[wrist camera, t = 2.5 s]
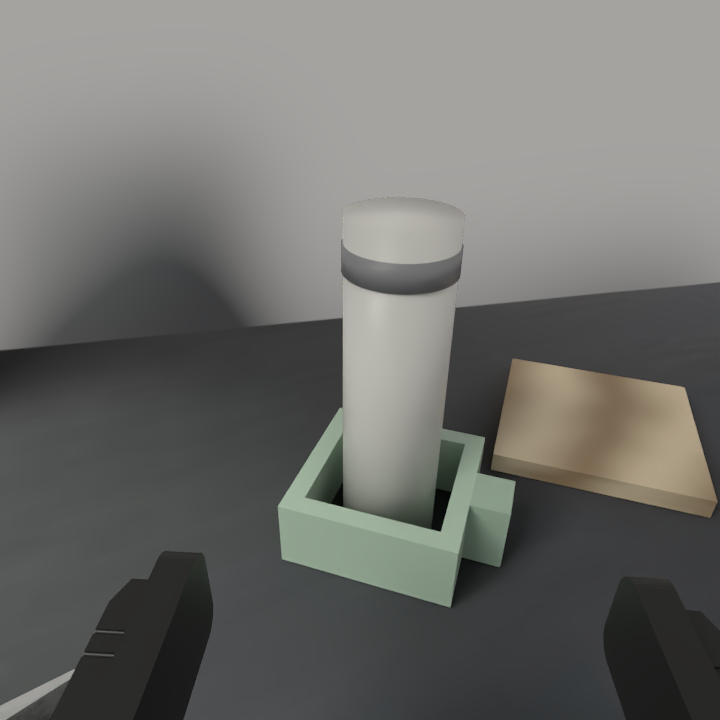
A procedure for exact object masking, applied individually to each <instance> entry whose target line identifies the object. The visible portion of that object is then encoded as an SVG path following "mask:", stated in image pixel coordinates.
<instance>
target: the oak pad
mask: <svg viewBox="0 0 720 720" xmlns="http://www.w3.org/2000/svg"><path fill="white" fill-rule="evenodd" d="M491 470H495V471H499V472H504V473H508V474H513V475H517V476H522V477H527V478H531V479H536V480H540V481H545V482H549V483H554V484H558V485H563V486H567V487H572V488H577V489H581V490H586V491H590V492H595V493H599V494H604V495H608V496H613V497H617V498H622V499H627V500H631V501H636V502H640V503H645V504H649V505H654V506H658V507H663V508H667V509H672V510H677V511H681V512H686V513H690V514H695V515H699V516H704V517H708V518H711V516H712V513H713V511H714V509H715V507H716V504H717V502H718V501H717V498H716V495H715V491H714V488H713V484H712V481H711V477H710V474H709V470H708V467H707V463H706V460H705V456H704V453H703V450H702V446H701V443H700V439H699V436H698V432H697V429H696V425H695V422H694V418H693V415H692V411H691V408H690V404H689V401H688V398H687V394H686V391H685V387H680V386H674V385H668V384H662V383H656V382H650V381H644V380H638V379H632V378H626V377H620V376H614V375H608V374H602V373H596V372H590V371H584V370H578V369H572V368H566V367H560V366H554V365H548V364H543V363H537V362H531V361H525V360H519V359H512V364H511V369H510V374H509V379H508V384H507V389H506V394H505V399H504V404H503V409H502V414H501V419H500V423H499V428H498V433H497V438H496V443H495V448H494V453H493V459H492V464H491Z"/></svg>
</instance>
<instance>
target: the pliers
mask: <svg viewBox="0 0 720 720" xmlns="http://www.w3.org/2000/svg"><path fill="white" fill-rule="evenodd" d="M74 670H75V669H74ZM74 670H72V671H70V672H68V673H66V674H64V675H62V676H60V677H57V678H55V679H53V680H51V681H49V682H47V683H45V684H43V685H41V686H39V687H37V688H35V689H33V690H31V691H29V692H27V693H25V694H23V695H21V696H19V697H17V698H15V699H13V700H11V701H9V702H7V703H5V704H3V705H1V706H0V720H49V719H50V718H51V716H52V714H53V712H54V710H55V708H56V706H57V704H58V702H59V700H60V698H61V696H62V694H63V692H64V690H65V688H66V686H67V684H68V682H69V680H70V678H71V676H72V674H73V672H74Z"/></svg>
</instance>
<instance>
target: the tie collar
mask: <svg viewBox="0 0 720 720" xmlns="http://www.w3.org/2000/svg"><path fill="white" fill-rule="evenodd" d="M484 442H485V437H481V436H476V435H471V434H466V433H461V432H456V431H451V430H447V429H442V435H441V444H440V453H439V462H438V471H437V481H436V488H437V489H441V490H445V491H449V492H452V493H451V497H450V500H449V504H448V508H447V511H446V515H445V519H444V522H443V526H442V530H441V532H439V531H435V530H431V529H427V528H423V527H419V526H415V525H411V524H407V523H403V522H399V521H395V520H391V519H387V518H384V517H380V516H376V515H372V514H368V513H364V512H360V511H356V510H352V509H348V508H344V507H340V506H336V505H332V504H331V503H332V501H333V499H334V497H335V495H336V493H337V492H338V490H339V488H340V486H341V484H342V482H343V408H340V409H339V410H338V412H337V413H336V415H335V416H334V418H333V420H332V421H331V423H330V424H329V426H328V428H327V429H326V431H325V432H324V434H323V436H322V437H321V439H320V440H319V442H318V443H317V445H316V447H315V448H314V450H313V451H312V453H311V455H310V456H309V458H308V459H307V461H306V463H305V464H304V466H303V467H302V469H301V471H300V472H299V474H298V475H297V477H296V478H295V480H294V482H293V483H292V485H291V486H290V488H289V490H288V491H287V493H286V494H285V496H284V498H283V499H282V501H281V502H280V504H279V505H278V514H279V527H280V540H281V553H282V559H283V560H287V561H290V562H294V563H297V564H301V565H304V566H308V567H311V568H315V569H318V570H322V571H325V572H328V573H332V574H335V575H339V576H342V577H346V578H349V579H353V580H356V581H360V582H363V583H367V584H370V585H374V586H377V587H381V588H384V589H387V590H391V591H394V592H398V593H401V594H405V595H408V596H412V597H415V598H419V599H422V600H426V601H429V602H433V603H436V604H440V605H443V606H447V607H451V603H452V598H453V594H454V589H455V585H456V580H457V576H458V571H459V567H460V563H461V558H466V559H470V560H473V561H477V562H481V563H485V564H489V565H492V566H496V567H500V566H501V561H502V556H503V551H504V546H505V541H506V536H507V531H508V526H509V522H510V517H511V510H512V503H513V496H514V489H515V482H516V481H512V480H507V479H503V478H498V477H494V476H489V475H485V474H480V467H481V461H482V455H483V448H484Z"/></svg>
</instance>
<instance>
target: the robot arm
mask: <svg viewBox="0 0 720 720" xmlns="http://www.w3.org/2000/svg"><path fill="white" fill-rule="evenodd" d="M212 619H213V601H212V595H211V590H210V584H209V579H208V573H207V568H206V562H205V557H204V555H203V554H202V553H191V552H171V551H164V552H162V553H161V555H160V556H159V558H158V560H157V562H156V564H155V566H154V568H153V570H152V573H151V575H150V577H149V579H148V580H145V579H131V580H130V581H129V582H128V583H127V584H126V585H125V586H124V587H123V588H122V589H121V590H120V591H119V592H118V593H117V594H116V595H115V596H114V597H113V598H112V599H111V600H110V601H109V603H108V605H107V607H106V609H105V611H104V613H103V615H102V617H101V619H100V621H99V623H98V625H97V627H96V632H95V634H93V635H92V637H91V639H90V641H89V643H88V645H87V647H86V649H85V653H84V656H83V657H81V659H80V661H79V663H78V665H77V667H76V668H75V670H74V672H73V674H72V676H71V678H70V680H69V682H68V684H67V686H66V688H65V690H64V692H63V694H62V696H61V698H60V700H59V702H58V704H57V706H56V708H55V710H54V712H53V714H52V716H51V718H50V720H183V719H184V716H185V712H186V709H187V706H188V703H189V700H190V696H191V693H192V690H193V687H194V684H195V680H196V677H197V674H198V671H199V668H200V664H201V661H202V658H203V655H204V652H205V648H206V645H207V642H208V639H209V635H210V631H211V626H212ZM604 651H605V656H606V660H607V664H608V667H609V670H610V673H611V676H612V679H613V682H614V685H615V688H616V691H617V694H618V697H619V700H620V703H621V706H622V709H623V712H624V715H625V718H626V720H720V631H719V630H718V629H717V628H716V627H715V626H714V625H713V624H712V623H711V622H710V621H709V620H708V619H707V618H706V617H705V615H704V614H703V613H702V612H701V611H686V610H685V608H684V606H683V604H682V602H681V600H680V598H679V596H678V594H677V592H676V590H675V588H674V586H673V585H672V584H671V582H670V581H668V580H667V579H662V578H643V577H623V578H622V579H621V581H620V583H619V586H618V589H617V592H616V594H615V597H614V600H613V603H612V606H611V609H610V612H609V615H608V618H607V621H606V624H605V627H604Z"/></svg>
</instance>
